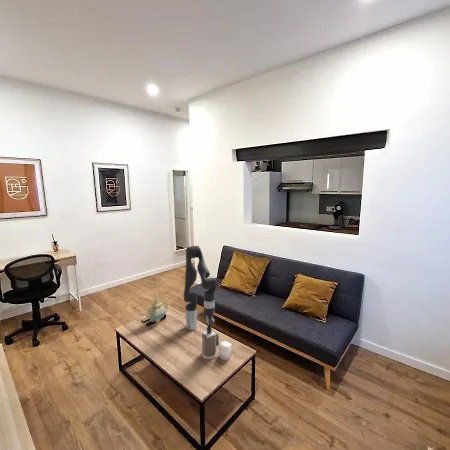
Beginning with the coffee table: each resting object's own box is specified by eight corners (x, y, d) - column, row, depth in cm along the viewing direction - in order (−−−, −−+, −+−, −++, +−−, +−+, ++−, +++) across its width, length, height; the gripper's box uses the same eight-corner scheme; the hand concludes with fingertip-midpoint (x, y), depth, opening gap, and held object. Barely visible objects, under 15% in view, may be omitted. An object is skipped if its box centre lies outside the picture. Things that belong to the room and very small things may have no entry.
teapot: (150, 331, 207) (149, 297, 203) (142, 327, 214) (140, 293, 209) (172, 319, 226) (171, 288, 222) (164, 315, 233) (163, 285, 228)
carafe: (199, 352, 182) (198, 331, 179) (214, 346, 189) (214, 326, 186) (206, 361, 173) (206, 339, 170) (221, 354, 179) (222, 333, 177)
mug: (216, 355, 179) (217, 343, 178) (228, 350, 184) (228, 339, 183) (223, 361, 172) (223, 349, 171) (234, 356, 178) (235, 344, 176)
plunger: (205, 350, 180) (205, 328, 178) (210, 348, 182) (210, 326, 180) (208, 353, 177) (208, 330, 175) (212, 351, 179) (212, 329, 177)
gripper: (200, 303, 178) (200, 325, 181) (209, 311, 167) (209, 334, 170) (209, 300, 182) (209, 322, 185) (218, 308, 171) (218, 331, 174)
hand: (209, 328), depth 177 cm, fingers closed
